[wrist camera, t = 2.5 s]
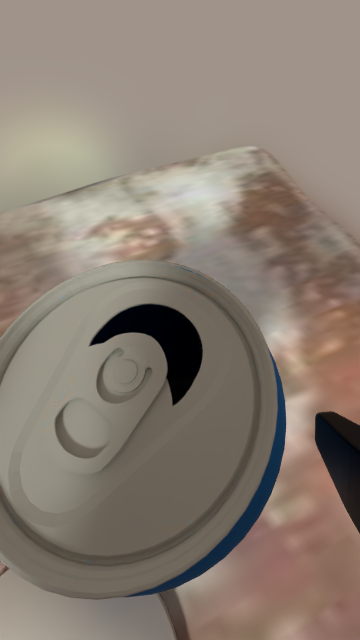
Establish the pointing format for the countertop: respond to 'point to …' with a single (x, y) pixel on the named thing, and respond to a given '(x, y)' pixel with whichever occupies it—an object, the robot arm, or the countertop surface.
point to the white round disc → (78, 615)
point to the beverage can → (134, 431)
